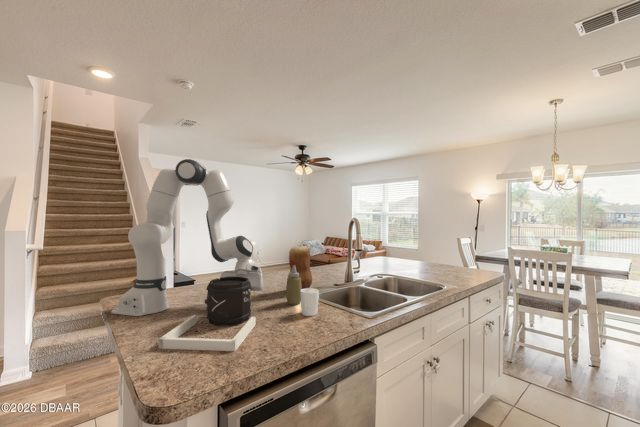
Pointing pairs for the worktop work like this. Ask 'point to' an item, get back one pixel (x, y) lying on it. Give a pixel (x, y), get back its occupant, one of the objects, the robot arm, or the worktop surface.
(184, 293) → the worktop surface
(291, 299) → the squeeze bottle
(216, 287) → the black short wide cylinder
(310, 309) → the white cup
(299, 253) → the butternut squash
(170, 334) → the bay
